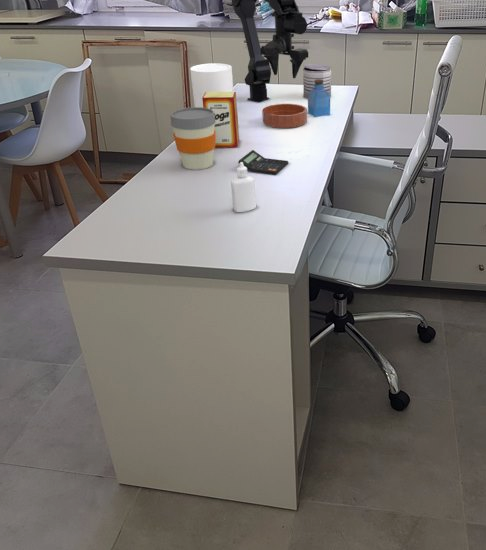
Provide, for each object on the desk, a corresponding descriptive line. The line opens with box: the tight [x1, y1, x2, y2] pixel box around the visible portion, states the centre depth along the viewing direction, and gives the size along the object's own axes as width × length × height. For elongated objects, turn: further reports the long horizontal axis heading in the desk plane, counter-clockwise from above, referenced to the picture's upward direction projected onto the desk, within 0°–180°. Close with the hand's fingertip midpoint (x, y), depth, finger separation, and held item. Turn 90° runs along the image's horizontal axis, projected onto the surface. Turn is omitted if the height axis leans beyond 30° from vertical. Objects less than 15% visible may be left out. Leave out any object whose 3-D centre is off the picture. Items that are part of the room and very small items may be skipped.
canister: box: [189, 62, 234, 108], centre depth 193 cm, size 14×14×20 cm
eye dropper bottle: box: [230, 162, 257, 213], centre depth 137 cm, size 4×6×12 cm
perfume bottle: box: [307, 79, 331, 118], centre depth 208 cm, size 6×6×12 cm
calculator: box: [237, 149, 289, 176], centre depth 164 cm, size 9×12×3 cm
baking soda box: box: [202, 91, 240, 149], centre depth 179 cm, size 10×6×16 cm
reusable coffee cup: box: [170, 106, 216, 170], centre depth 164 cm, size 13×13×15 cm
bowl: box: [261, 103, 308, 129], centre depth 201 cm, size 16×16×4 cm
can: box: [302, 63, 332, 100], centre depth 229 cm, size 11×11×12 cm
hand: (284, 76), depth 211 cm, fingers open, 9 cm apart
